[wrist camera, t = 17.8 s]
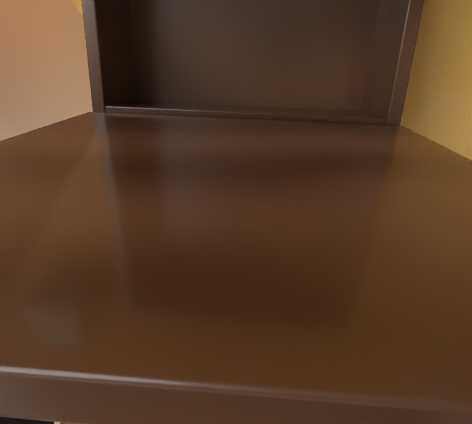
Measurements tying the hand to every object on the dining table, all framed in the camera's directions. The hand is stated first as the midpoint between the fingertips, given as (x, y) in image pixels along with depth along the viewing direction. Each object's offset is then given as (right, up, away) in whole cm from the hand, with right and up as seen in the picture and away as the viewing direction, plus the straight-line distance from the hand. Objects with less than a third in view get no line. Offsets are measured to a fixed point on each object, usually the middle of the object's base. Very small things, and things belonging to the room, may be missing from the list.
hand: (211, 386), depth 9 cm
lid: (0, +6, +2) cm, 6 cm away
